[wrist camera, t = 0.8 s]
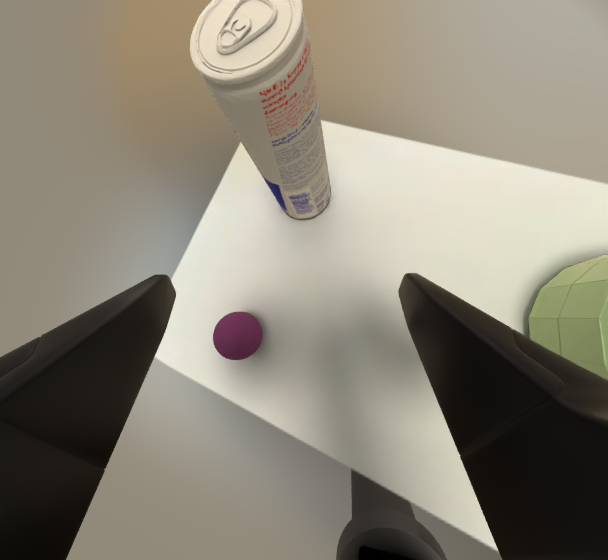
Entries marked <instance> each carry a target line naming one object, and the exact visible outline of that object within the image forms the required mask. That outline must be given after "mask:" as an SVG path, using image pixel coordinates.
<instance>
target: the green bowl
mask: <svg viewBox="0 0 608 560" xmlns="http://www.w3.org/2000/svg"><path fill="white" fill-rule="evenodd" d="M528 318H529V319H528V320H529V334H530V339H531V340H533V341H535V342H536V343H538V344H540V345H542V346H544V347H545V348H547V349H549V350H551V351H553V352H555V353H557V354H558V355H560V356H562V357H564V358H566V359H568V360H570V361H572V362H574V363H575V364H577V365H579V366H581V367H583V368H585V369H587V370H589V371H591V372H593V373H595V374H597V375H598V376H600V377H602V378H604V379H606V380H608V254H607V255H603V256H599V257H596V258H593V259H590V260H587V261H584V262H581V263H577V264H574V265H571V266H568V267H566V268H564V269H563V270H562V271H561V272H560V273H559V274H557V275H556V276H555V277H554V278H553V279H552V280H550V281H549V282H548V283H547V284H546V285H545V286H543V287H542V288H541V289H540V291H539V293H538V296H537V298H536V301H535V303H534V305H533V308H532V310H531V313H530V315H529V317H528Z"/></svg>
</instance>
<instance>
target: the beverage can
mask: <svg viewBox="0 0 608 560" xmlns="http://www.w3.org/2000/svg"><path fill="white" fill-rule="evenodd" d="M190 54H191V58H192V60H193V63H194V65H195V67H196V68H197V70H198V71H199V72H200V73H201V75H202V78H203V79H204V82H205V83H206V85H207V87H208V89H209V90H210V92H211V93H212V95H213V97H214V98H215V100H216V102H217V103H218V105H219V106H220V108H221V110H222V111H223V113H224V115H225V116H226V118H227V119H228V121H229V123H230V124H231V126H232V128H233V129H234V131H235V133H236V134H237V136H238V137H239V139H240V141H241V142H242V144H243V146H244V147H245V149H246V150H247V152H248V154H249V155H250V157H251V159H252V160H253V162H254V163H255V165H256V167H257V168H258V170H259V171H260V173H261V175H262V176H263V178H264V180H265V181H266V183H267V184H268V186H269V188H270V189H271V191H272V193H273V194H274V196H275V197H276V199H277V201H278V202H279V204H280V206H281V207H282V209H283V210H284V211H285V212H286V213H287V214H288V215H289V216H291V217H294V218H298V219H307V218H311V217H313V216H315V215H317V214H319V213H320V212H321V211H322V210H323V209H324V208H325V207H326V205H327V204H328V202H329V199H330V195H331V188H330V182H329V175H328V167H327V160H326V153H325V146H324V139H323V132H322V125H321V118H320V111H319V104H318V97H317V91H316V83H315V77H314V69H313V62H312V55H311V49H310V41H309V34H308V29H307V26H306V22H305V19H304V16H303V5H302V1H301V0H212V1H211V2H210V4H209V5H208V6H207V7H206V8H205V10H204V11H203V12H202V14H201V15H200V16H199V18H198V20H197V22H196V25H195V26H194V29H193V32H192V36H191V40H190Z"/></svg>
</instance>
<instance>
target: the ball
mask: <svg viewBox="0 0 608 560" xmlns="http://www.w3.org/2000/svg"><path fill="white" fill-rule="evenodd" d="M261 340H262V329H261V326H260V324H259V322H258V321H257V319H256V318H255V317H254V316H252V315H250V314H248V313H245V312H233V313H230V314H228V315H226V316H224V317H223V318H222V319H221V320H220V321H219V322H218V324H217V325H216V327H215V330H214V334H213V341H214V345H215V348H216V349H217V351H218V352H219V353H220V354H221V355H222V356H223V357H225V358H228V359H231V360H241V359H245V358H247V357H249V356H251V355H252V354H253V353H254V352H255V351H256V350H257V349H258V347H259V345H260V343H261Z"/></svg>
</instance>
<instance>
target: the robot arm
mask: <svg viewBox="0 0 608 560" xmlns="http://www.w3.org/2000/svg"><path fill="white" fill-rule="evenodd" d="M175 298H176V292H175V289H174V287H173V285H172V282H171V280H170V278H169V277H168V276H167V275H154V276H152V277H150V278H148V279H146V280H144V281H142V282H140V283H139V284H137V285H135V286H133V287H131V288H129V289H127V290H126V291H124V292H122V293H120V294H118V295H116V296H114V297H112V298H111V299H109V300H107V301H105V302H103V303H101V304H100V305H97V306H96V307H94V308H92V309H90V310H88V311H86V312H84V313H83V314H81V315H79V316H77V317H75V318H74V319H71V320H69V321H68V322H66V323H64V324H62V325H60V326H58V327H57V328H55V329H53V330H51V331H49V332H47V333H45V334H43V335H42V336H41V337H38V338H36V339H34V340H32V341H30V342H29V343H26V344H25V345H23V346H21V347H19V348H17V349H15V350H13V351H11V352H9V353H8V354H6V355H4V356H2V357H0V560H66V558H67V556H68V554H69V551H70V549H71V547H72V544H73V542H74V540H75V538H76V535H77V533H78V531H79V528H80V526H81V524H82V521H83V519H84V517H85V515H86V512H87V510H88V508H89V506H90V503H91V501H92V499H93V496H94V494H95V492H96V490H97V487H98V485H99V483H100V480H101V478H102V476H103V474H104V471H105V470H104V469H105V468H106V466H107V464H108V462H109V459H110V457H111V455H112V452H113V450H114V448H115V446H116V443H117V441H118V439H119V436H120V434H121V432H122V430H123V427H124V425H125V423H126V420H127V418H128V416H129V414H130V411H131V409H132V407H133V404H134V402H135V399H136V397H137V395H138V393H139V390H140V388H141V386H142V384H143V382H144V379H145V377H146V374H147V372H148V370H149V367H150V366H151V363H152V361H153V359H154V356H155V354H156V352H157V349H158V347H159V345H160V343H161V340H162V338H163V336H164V333H165V330H166V327H167V324H168V321H169V318H170V314H171V311H172V308H173V304H174V301H175ZM399 298H400V301H401V305H402V309H403V312H404V316H405V319H406V323H407V326H408V329H409V332H410V334H411V337H412V339H413V342H414V344H415V347H416V349H417V352H418V354H419V357H420V359H421V361H422V364H423V366H424V369H425V371H426V374H427V376H428V379H429V381H430V384H431V386H432V388H433V391H434V393H435V396H436V398H437V401H438V403H439V406H440V408H441V410H442V413H443V415H444V418H445V420H446V423H447V425H448V428H449V430H450V433H451V435H452V437H453V440H454V442H455V445H456V447H457V450H458V452H459V454H460V455H461V456H460V458H461V460H462V462H463V465H464V467H465V470H466V472H467V475H468V477H469V480H470V482H471V485H472V487H473V489H474V492H475V494H476V497H477V499H478V502H479V504H480V507H481V509H482V511H483V514H484V516H485V519H486V521H487V524H488V526H489V529H490V531H491V533H492V536H493V538H494V541H495V543H496V546H497V548H498V551H499V553H500V555H501V557H502V559H503V560H608V380H606V379H604V378H602V377H600V376H598V375H597V374H595V373H593V372H591V371H589V370H587V369H585V368H583V367H581V366H579V365H577V364H575V363H574V362H572V361H570V360H568V359H566V358H564V357H562V356H560V355H558V354H557V353H555V352H553V351H551V350H549V349H547V348H545V347H544V346H542V345H540V344H538V343H536V342H535V341H533V340H531V339H529V338H528V337H526V336H524V335H522V334H521V333H519V332H517V331H516V330H512V329H511V328H510V327H509V326H507V325H505V324H503V323H502V322H500V321H498V320H496V319H495V318H493V317H491V316H490V315H488V314H486V313H484V312H483V311H481V310H479V309H477V308H476V307H474V306H472V305H471V304H469V303H467V302H465V301H464V300H462V299H460V298H459V297H457V296H455V295H453V294H452V293H450V292H448V291H446V290H445V289H443V288H441V287H440V286H438V285H436V284H434V283H433V282H431V281H429V280H427V279H426V278H424V277H422V276H421V275H419V274H417V273H407V274H405V275H404V277H403V280H402V282H401V285H400V288H399ZM362 554H366V556H364V555H362ZM358 560H416V559H412V558H408V557H404V556H400V555H397V554H393V553H389V552H385V551H381V550H378V549H374V548H370V547H366V546H361V547H360V548H359V551H358Z"/></svg>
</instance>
